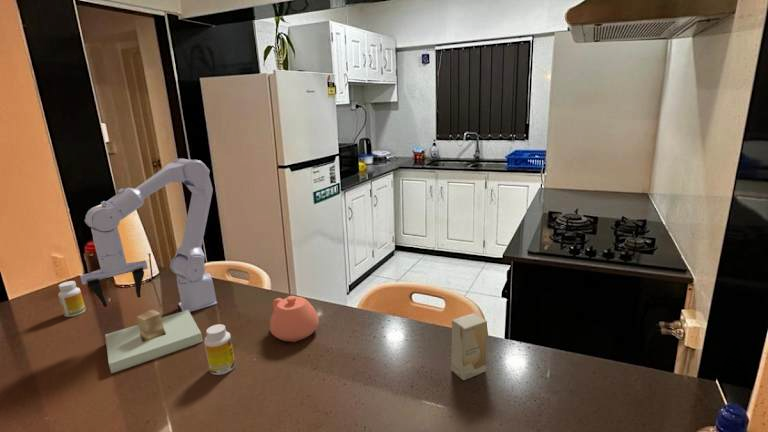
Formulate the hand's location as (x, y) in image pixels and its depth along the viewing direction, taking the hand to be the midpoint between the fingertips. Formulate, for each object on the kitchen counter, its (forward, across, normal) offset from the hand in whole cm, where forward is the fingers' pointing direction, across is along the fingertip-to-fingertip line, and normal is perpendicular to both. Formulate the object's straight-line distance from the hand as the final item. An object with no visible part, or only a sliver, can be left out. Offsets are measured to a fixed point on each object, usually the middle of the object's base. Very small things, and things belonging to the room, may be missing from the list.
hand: (122, 300), depth 110 cm
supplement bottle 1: (+10, +12, -25) cm, 29 cm away
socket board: (+9, -4, +10) cm, 15 cm away
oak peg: (+10, -4, +10) cm, 15 cm away
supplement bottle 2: (+10, -15, +34) cm, 38 cm away
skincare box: (+10, -56, +70) cm, 91 cm away
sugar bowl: (+10, -34, +30) cm, 46 cm away
